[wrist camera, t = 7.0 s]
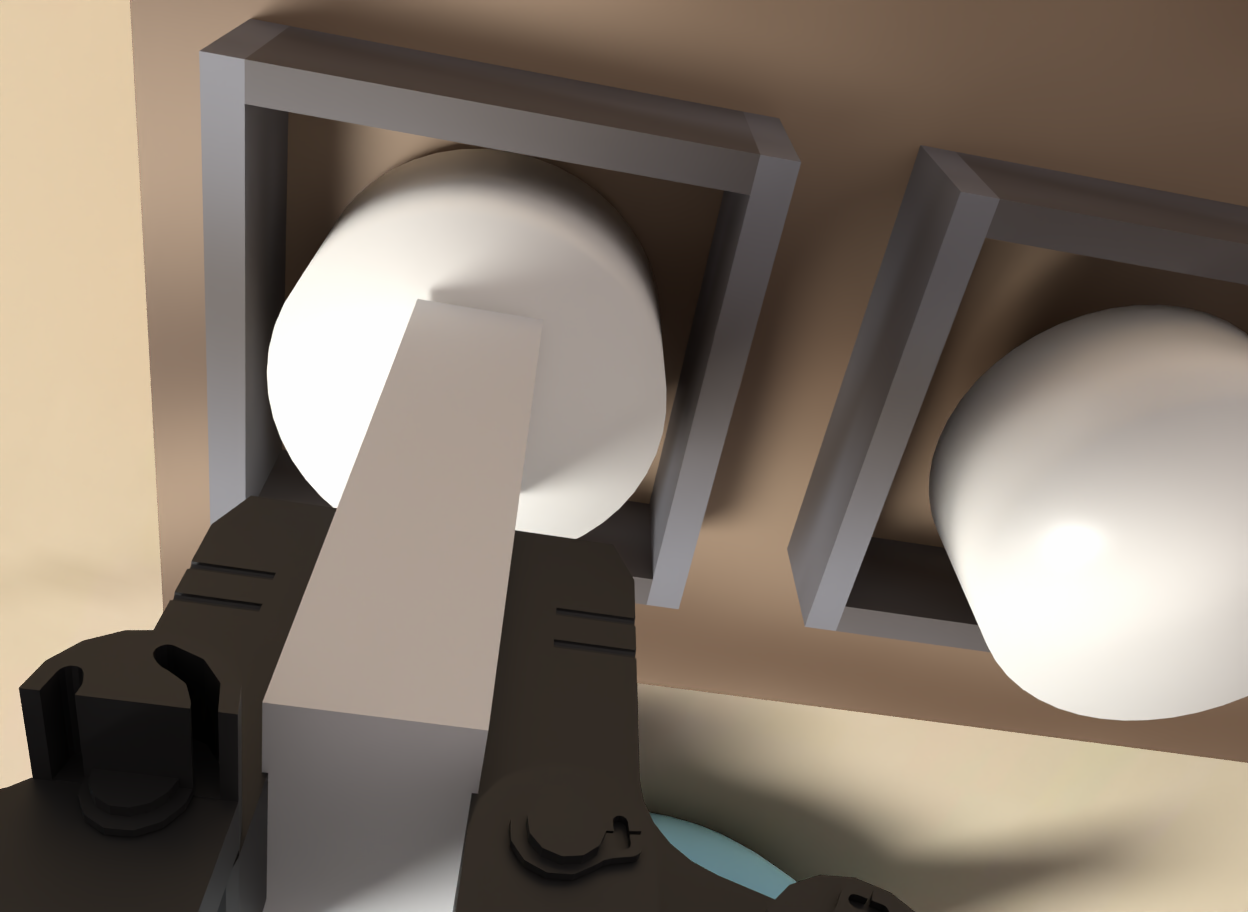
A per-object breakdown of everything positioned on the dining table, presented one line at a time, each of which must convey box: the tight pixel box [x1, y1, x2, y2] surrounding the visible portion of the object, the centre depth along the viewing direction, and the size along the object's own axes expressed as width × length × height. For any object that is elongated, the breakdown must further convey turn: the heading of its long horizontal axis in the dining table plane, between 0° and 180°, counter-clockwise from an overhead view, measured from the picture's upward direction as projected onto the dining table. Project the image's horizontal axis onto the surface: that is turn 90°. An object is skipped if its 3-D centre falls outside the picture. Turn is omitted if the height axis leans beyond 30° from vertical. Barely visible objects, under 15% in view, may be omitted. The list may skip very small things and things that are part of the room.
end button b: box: [267, 149, 666, 539], centre depth 15 cm, size 5×5×2 cm
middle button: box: [929, 305, 1248, 721], centre depth 14 cm, size 5×5×2 cm
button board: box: [130, 0, 1248, 763], centre depth 17 cm, size 14×28×5 cm, turn 80°
